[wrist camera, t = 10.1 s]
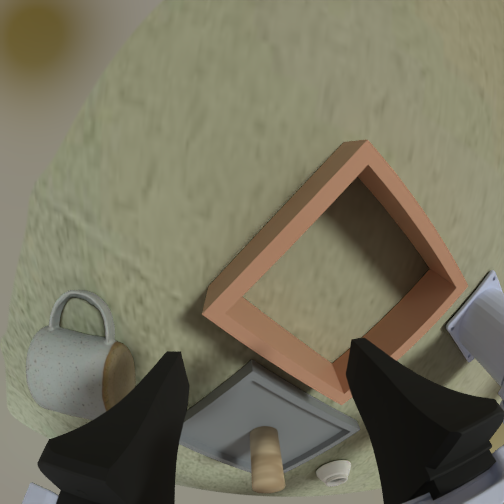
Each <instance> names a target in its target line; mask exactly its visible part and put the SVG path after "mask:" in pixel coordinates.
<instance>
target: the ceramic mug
mask: <svg viewBox="0 0 504 504" xmlns="http://www.w3.org/2000/svg"><path fill="white" fill-rule="evenodd" d="M71 297H78V298H82V299H85V300H87V301H88V302H89V303H90V304H91V305H95V307H96V308H98V309H99V311H100V312H101V315H102V318H103V319H104V326H105V331H106V332H105V336H106V337H101V336H94V335H88V334H84V333H81V332H77V331H73V330H68V329H64V328H61V327H60V326H59V322H60V316H61V312H62V309H63V306H64V305H65V303H66V302H67V300H68V299H69V298H71ZM114 338H115V325H114V321H113V317H112V314H111V311H110V309H109V307H108V305H107V304H106V303H105V301H104V300H103V299H101V298H100V297H99V296H98V295H96V294H95V293H93V292H90V291H86V290H70V291H67V292H65V293H63V294H62V295H61V296H60V297H59V298H58V299H57V301H56V302H55V304H54V306H53V309H52V311H51V315H50V320H49V326H45V327H43V328H41V329H40V330H39V331H38V332H37V333H36V334H35V336H34V337H33V339H32V341H31V344H30V346H29V349H28V352H27V359H26V378H27V384H28V388H29V390H30V393H31V395H32V397H33V399H34V400H35V401H36V403H37V404H38V405H39V406H41V407H43V408H45V409H48V410H52V411H56V412H60V413H64V414H67V415H71V416H76V417H81V418H85V419H90V420H94V419H95V418H97V417H99V416H100V415H102V414H103V413H105V412H106V411H108V410H109V409H110V408H112V407H113V406H114V405H116V404H117V403H118V402H119V401H121V400H122V399H123V398H124V397H125V396H126V395H127V394H128V393H129V392H130V391H132V390H133V389H134V388H135V366H134V361H133V357H132V355H131V352H130V351H129V349H128V348H127V347H126V346H125V345H124V344H123V343H120V342H118V341H116V340H115V339H114Z"/></svg>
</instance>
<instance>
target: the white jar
mask: <svg viewBox="0 0 504 504" xmlns="http://www.w3.org/2000/svg"><path fill="white" fill-rule="evenodd" d="M350 468H351V463H350V462H349V461H347V460H338V461H333V462H329V463H327V464H325V465H323V466H321V467H320V468H318V469H317V471H316V475H317V477H318V478H319V479H320V480H321V481H322V482H324V483H325V484H326V485H327V486H337V485H340V484H342V483H344V482H346V481H347V479H348V477H347V476H348V475H349V472H350Z"/></svg>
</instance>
